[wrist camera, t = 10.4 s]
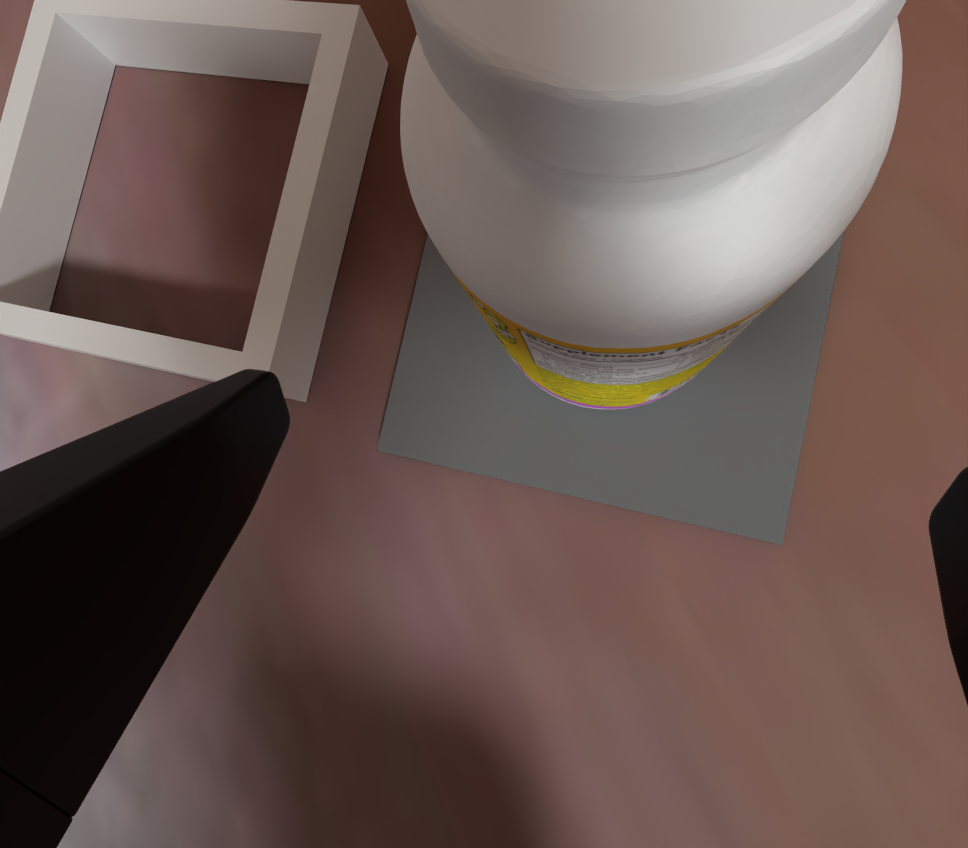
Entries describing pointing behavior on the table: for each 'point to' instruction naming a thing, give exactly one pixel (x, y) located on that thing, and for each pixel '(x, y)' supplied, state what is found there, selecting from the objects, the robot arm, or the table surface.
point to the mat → (616, 413)
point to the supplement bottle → (640, 169)
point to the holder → (206, 50)
